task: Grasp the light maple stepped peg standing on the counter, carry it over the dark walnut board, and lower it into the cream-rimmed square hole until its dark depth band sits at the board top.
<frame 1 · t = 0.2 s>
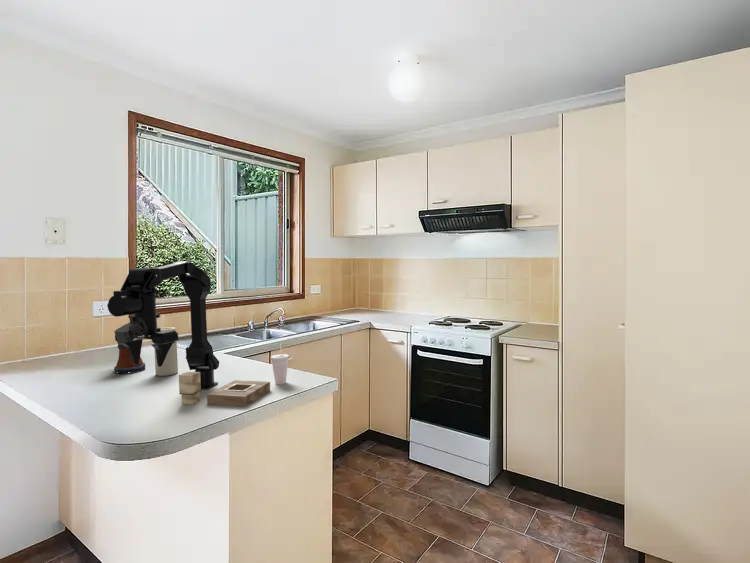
hand: (148, 365, 125), 14 cm above the countertop, fingers open, 9 cm apart
travel mug: (167, 374, 170), on the countertop
smoothie: (280, 383, 154), on the countertop
peg: (190, 401, 135), on the countertop
board: (240, 397, 139), on the countertop
mug: (128, 369, 179), on the countertop
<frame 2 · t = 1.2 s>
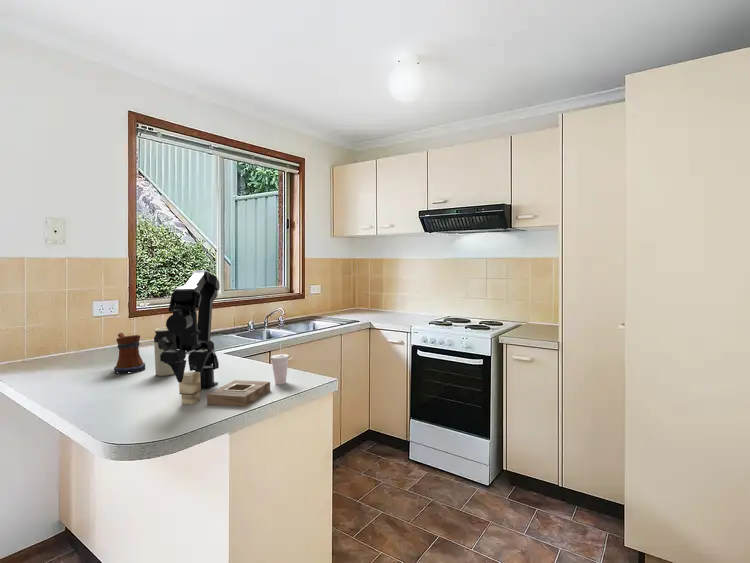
hand: (189, 377, 135), 8 cm above the countertop, fingers open, 9 cm apart
nothing on the countertop moved.
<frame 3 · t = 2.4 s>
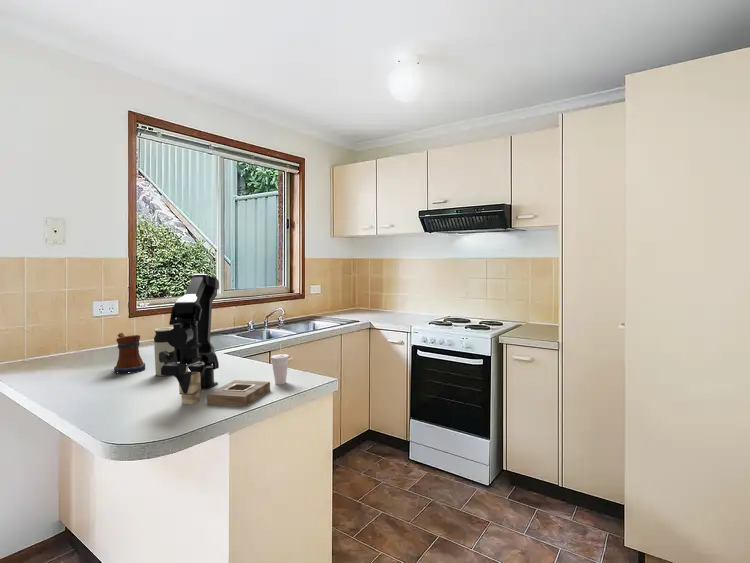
hand: (190, 390, 135), 4 cm above the countertop, fingers closed on peg, 4 cm apart
peg: (190, 401, 135), on the countertop, touching gripper
everything else where it was.
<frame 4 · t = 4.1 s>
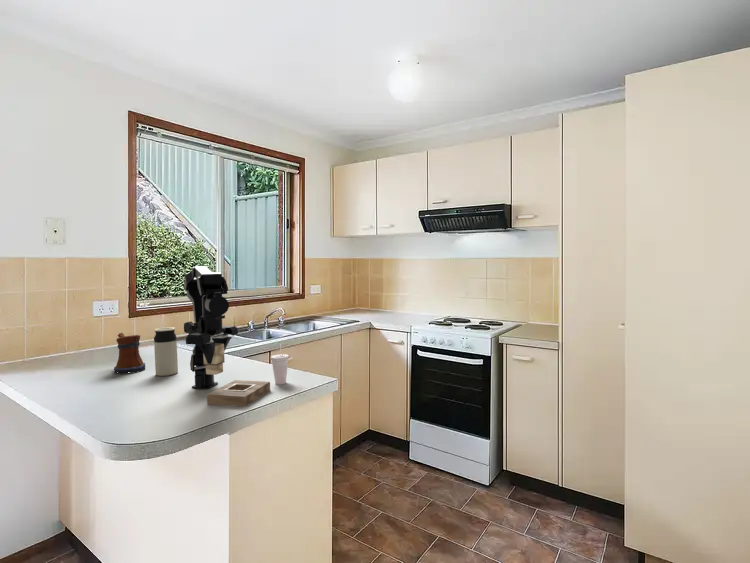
hand: (214, 361, 136), 12 cm above the countertop, fingers closed on peg, 4 cm apart
peg: (214, 372, 136), point 9 cm above the countertop, touching gripper
everything else where it was.
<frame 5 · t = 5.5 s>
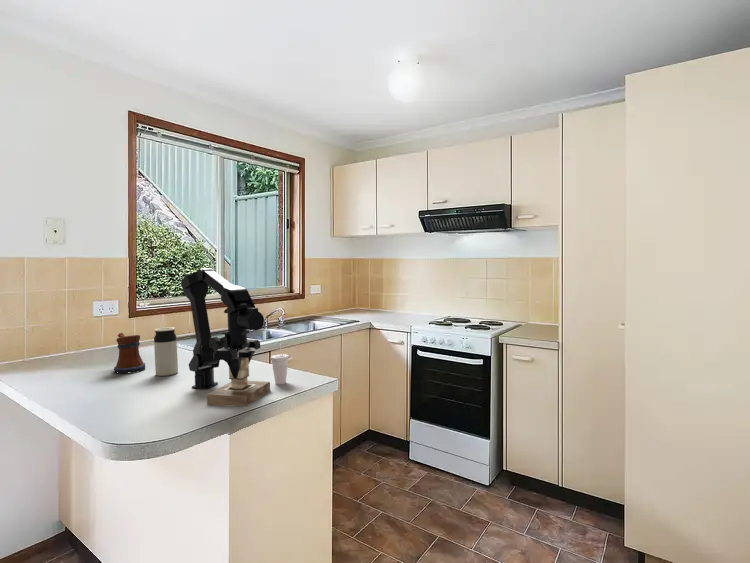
hand: (239, 375, 138), 7 cm above the countertop, fingers closed on peg, 4 cm apart
peg: (239, 386, 139), point 3 cm above the countertop, touching gripper
everything else where it was.
when the fingers open (4 cm above the countertop, at t = 6.3 s): peg stays where it is, resting in board.
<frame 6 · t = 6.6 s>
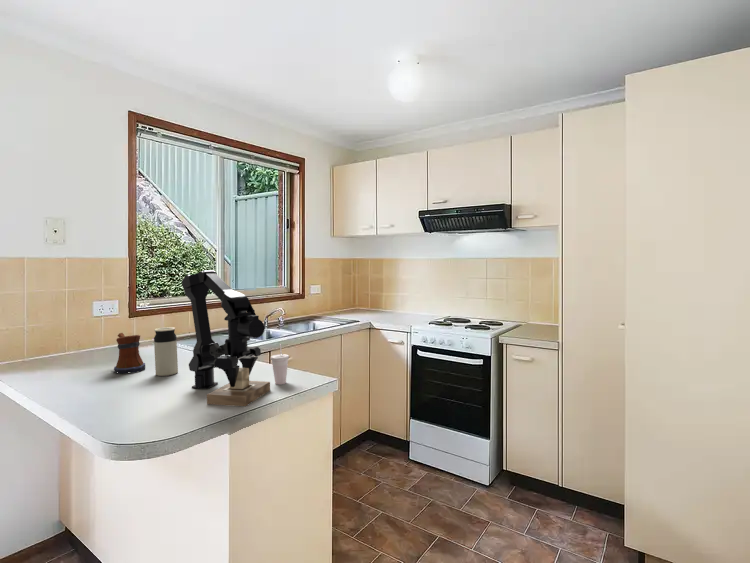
hand: (239, 383, 139), 4 cm above the countertop, fingers open, 8 cm apart
peg: (240, 397, 139), resting in board
everything else where it was.
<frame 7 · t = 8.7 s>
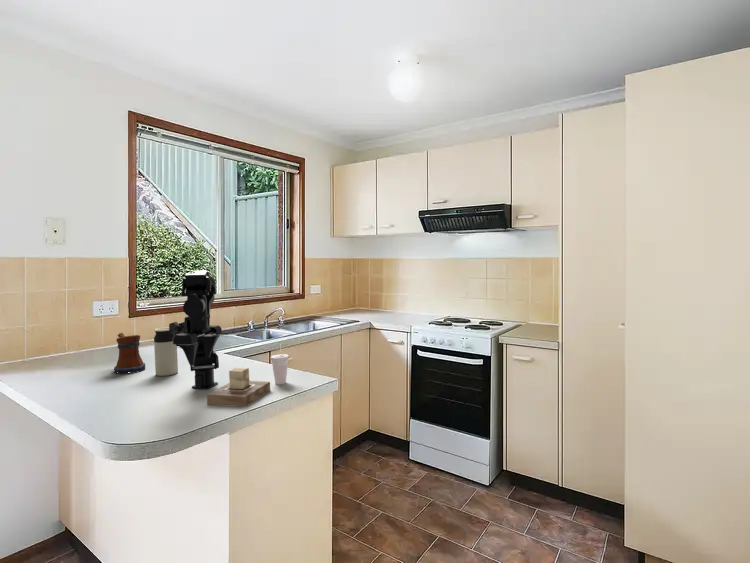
hand: (199, 361, 139), 12 cm above the countertop, fingers open, 9 cm apart
nothing on the countertop moved.
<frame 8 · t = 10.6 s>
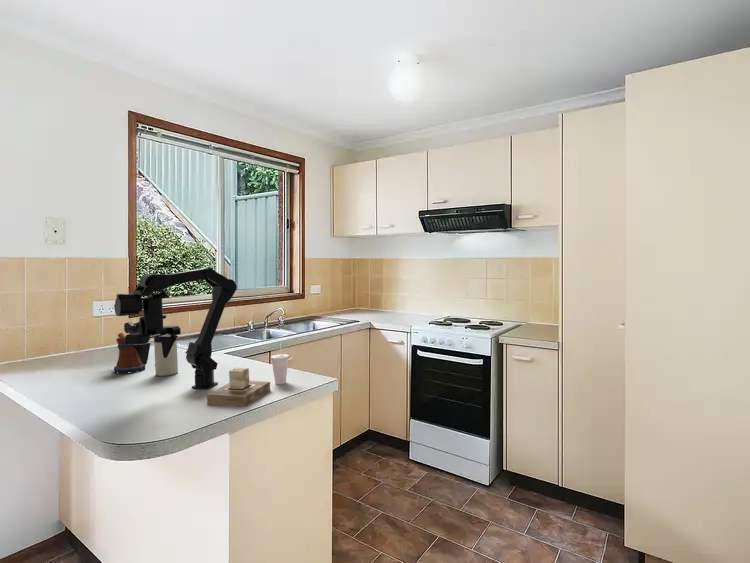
hand: (155, 361, 140), 12 cm above the countertop, fingers open, 9 cm apart
nothing on the countertop moved.
at the end: peg 0.0 cm off-centre on the board, point 0.0 cm above the board's base; peg tilted 0°; the gripper is holding nothing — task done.
